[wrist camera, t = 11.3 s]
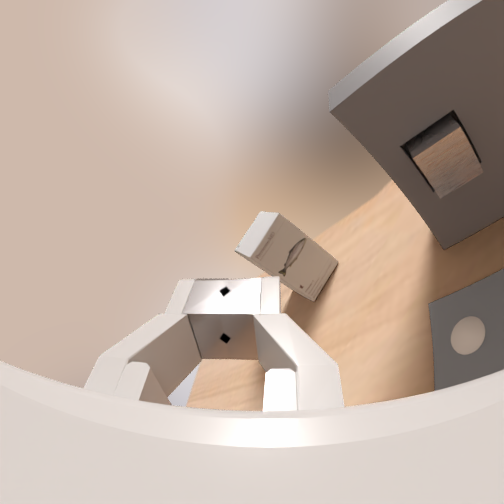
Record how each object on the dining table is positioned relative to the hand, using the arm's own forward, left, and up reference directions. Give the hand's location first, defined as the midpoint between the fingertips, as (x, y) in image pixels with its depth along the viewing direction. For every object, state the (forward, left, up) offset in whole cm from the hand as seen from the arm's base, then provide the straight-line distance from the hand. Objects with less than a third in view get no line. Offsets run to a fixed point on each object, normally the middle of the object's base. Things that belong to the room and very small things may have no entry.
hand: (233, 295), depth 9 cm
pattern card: (+6, -5, -23) cm, 24 cm away
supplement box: (+23, +20, -23) cm, 38 cm away
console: (+20, -13, -23) cm, 33 cm away
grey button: (+17, -7, -14) cm, 23 cm away
